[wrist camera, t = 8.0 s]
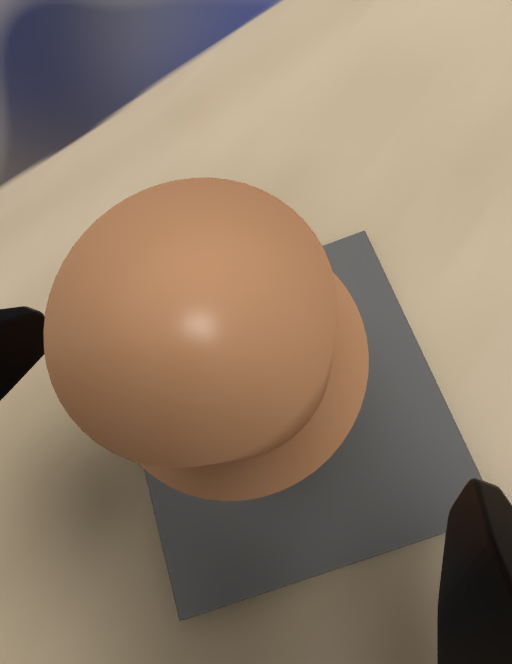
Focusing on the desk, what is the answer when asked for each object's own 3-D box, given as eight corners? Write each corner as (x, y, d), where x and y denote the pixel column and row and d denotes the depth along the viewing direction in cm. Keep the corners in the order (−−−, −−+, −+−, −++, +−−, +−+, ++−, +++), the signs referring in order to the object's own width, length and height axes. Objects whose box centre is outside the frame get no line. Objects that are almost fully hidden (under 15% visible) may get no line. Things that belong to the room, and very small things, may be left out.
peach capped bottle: (333, 478, 16) (379, 578, 4) (215, 458, 16) (-57, 488, 5) (344, 359, 17) (409, 141, 5) (234, 346, 18) (55, 132, 6)
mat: (493, 512, 15) (498, 515, 15) (183, 615, 16) (179, 621, 15) (363, 236, 19) (364, 230, 18) (116, 327, 19) (110, 324, 19)
